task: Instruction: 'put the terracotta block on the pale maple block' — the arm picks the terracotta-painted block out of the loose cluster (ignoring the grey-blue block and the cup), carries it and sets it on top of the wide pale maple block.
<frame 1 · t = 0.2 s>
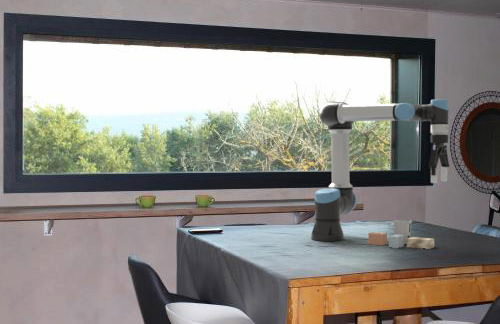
hand: (439, 182, 299), 28 cm above the table, fingers open, 13 cm apart
cup: (402, 243, 303), on the table
maple block: (420, 247, 291), on the table
terracotta block: (377, 244, 300), on the table
slate block: (396, 247, 292), on the table
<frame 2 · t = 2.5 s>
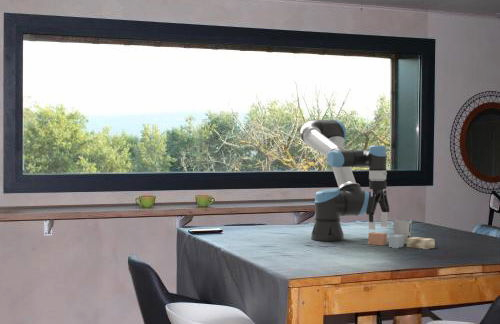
hand: (378, 228, 299), 7 cm above the table, fingers open, 13 cm apart
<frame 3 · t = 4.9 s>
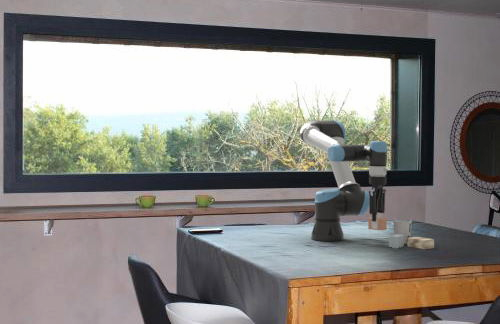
hand: (376, 227, 300), 7 cm above the table, fingers closed on terracotta block, 4 cm apart
terracotta block: (377, 229, 300), point 7 cm above the table, touching gripper
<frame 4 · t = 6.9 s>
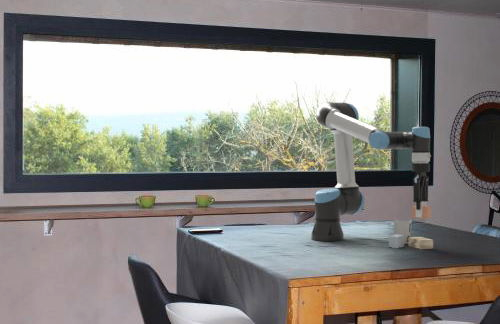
hand: (420, 216, 290), 13 cm above the table, fingers closed on terracotta block, 4 cm apart
terracotta block: (421, 217, 290), point 13 cm above the table, touching gripper
when the fingers open (4 cm above the table, at t = 9.0 s): terracotta block stays where it is, resting on maple block.
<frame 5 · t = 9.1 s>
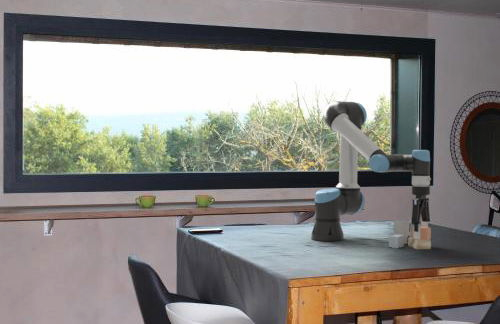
hand: (420, 237, 291), 4 cm above the table, fingers open, 9 cm apart
maple block: (419, 248, 290), on the table, touching terracotta block
terracotta block: (421, 238, 290), point 4 cm above the table, touching maple block
everything else where it was.
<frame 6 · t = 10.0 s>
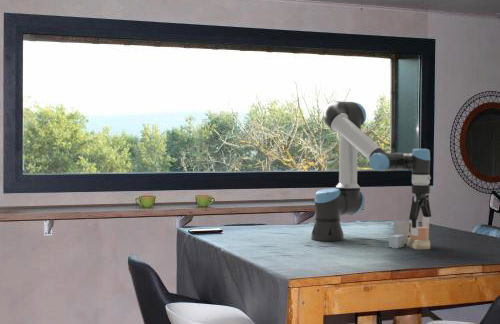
hand: (420, 233, 291), 6 cm above the table, fingers open, 13 cm apart
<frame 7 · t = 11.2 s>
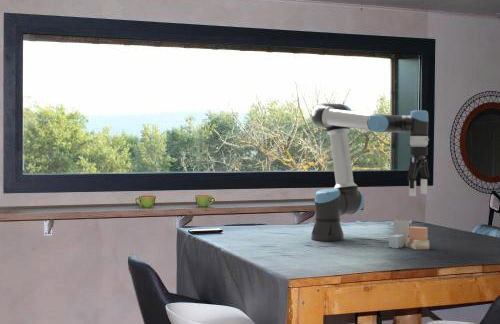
hand: (418, 195, 292), 22 cm above the table, fingers open, 13 cm apart
maple block: (417, 248, 290), on the table
terracotta block: (418, 238, 290), point 4 cm above the table
everything else where it was.
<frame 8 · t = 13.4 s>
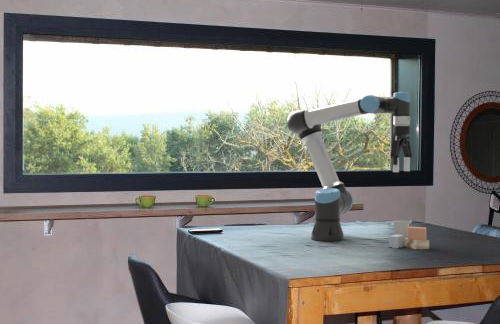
hand: (401, 171, 312), 32 cm above the table, fingers open, 13 cm apart
at the end: terracotta block inside the target area on the maple block (0.2 cm from its centre), point 4.0 cm above the maple block's base; slate block moved 0.2 cm from its start; cup moved 0.2 cm from its start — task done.
